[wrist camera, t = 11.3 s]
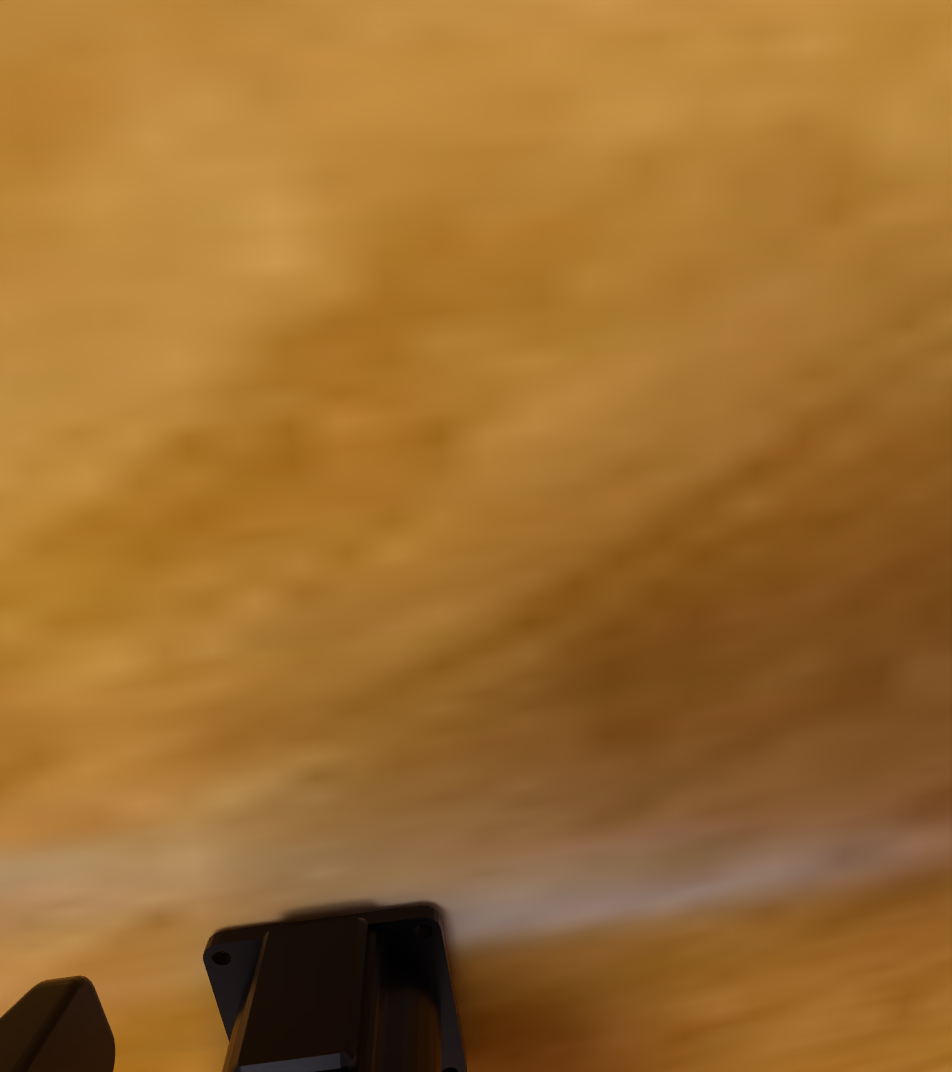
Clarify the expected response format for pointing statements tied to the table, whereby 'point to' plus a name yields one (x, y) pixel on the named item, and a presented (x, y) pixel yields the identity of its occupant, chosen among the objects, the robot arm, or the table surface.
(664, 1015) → the table surface
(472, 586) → the table surface
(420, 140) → the table surface
